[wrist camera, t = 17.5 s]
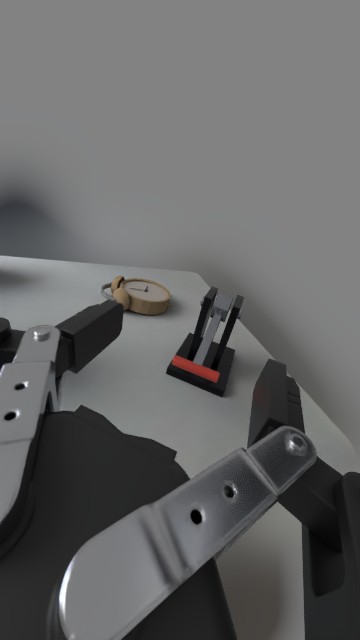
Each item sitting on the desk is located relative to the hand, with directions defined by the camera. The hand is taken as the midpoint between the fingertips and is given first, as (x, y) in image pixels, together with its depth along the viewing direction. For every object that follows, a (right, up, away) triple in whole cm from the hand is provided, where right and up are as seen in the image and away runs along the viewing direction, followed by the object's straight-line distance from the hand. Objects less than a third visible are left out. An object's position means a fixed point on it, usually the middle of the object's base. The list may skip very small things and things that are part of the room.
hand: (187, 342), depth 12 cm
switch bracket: (+3, -6, +27) cm, 28 cm away
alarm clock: (-10, +5, +40) cm, 42 cm away
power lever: (+4, -1, +19) cm, 20 cm away
